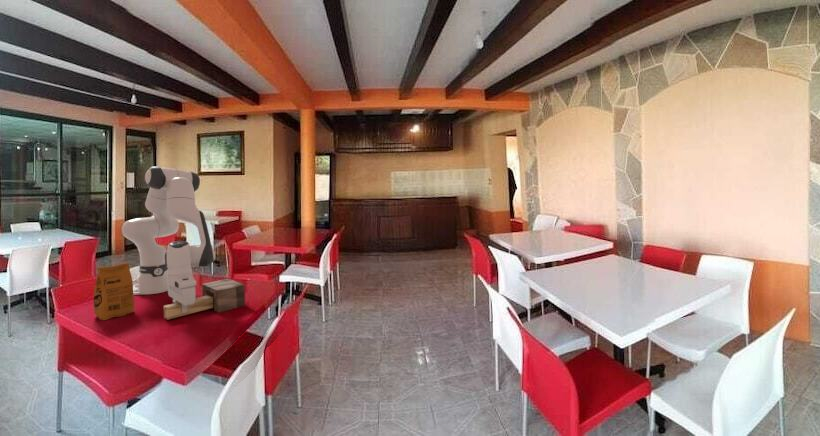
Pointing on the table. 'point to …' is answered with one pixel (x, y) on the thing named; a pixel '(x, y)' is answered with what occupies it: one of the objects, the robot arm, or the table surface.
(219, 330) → the table surface
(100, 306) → the coffee package
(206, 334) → the table surface
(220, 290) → the end cap
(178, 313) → the slat
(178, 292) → the robot arm
